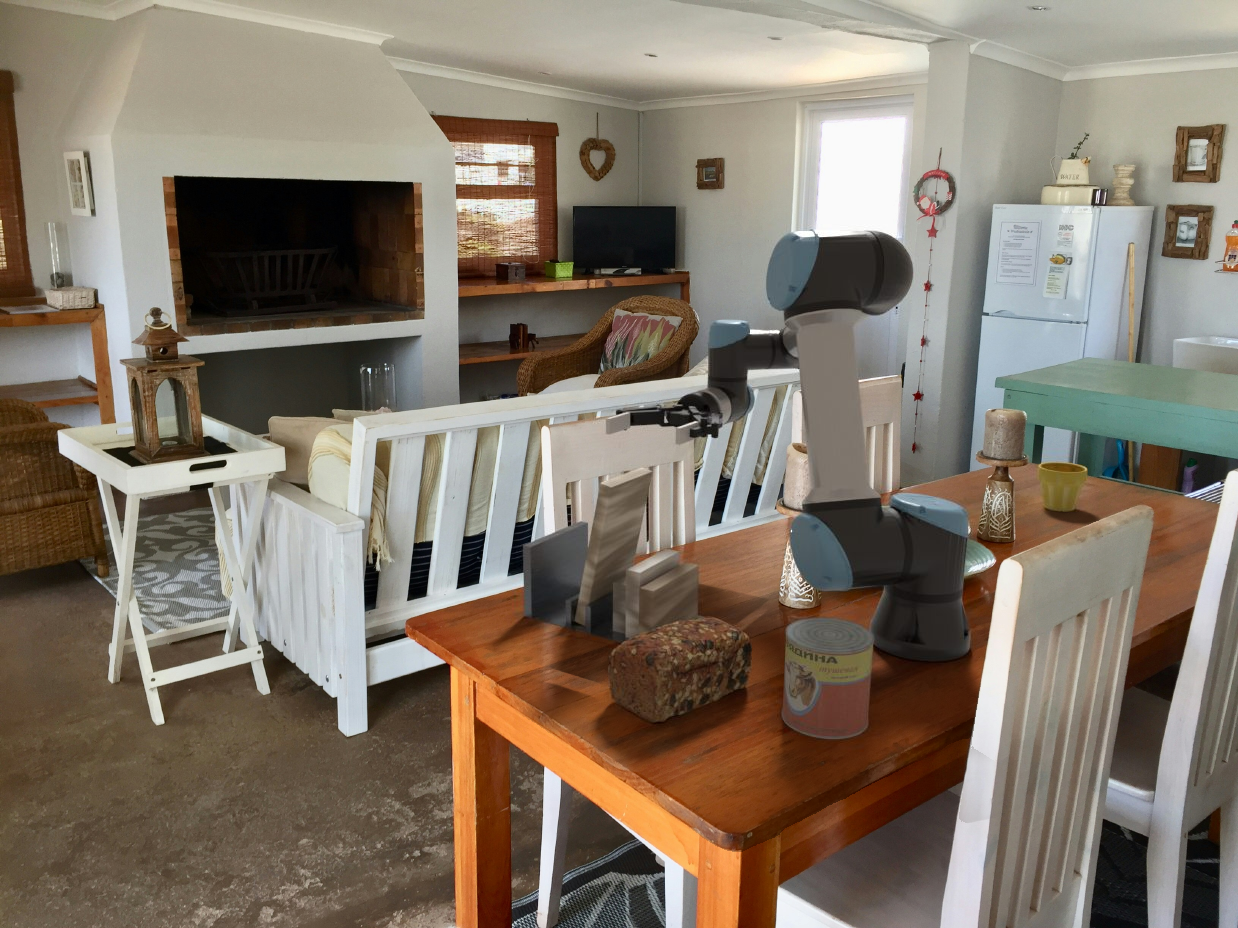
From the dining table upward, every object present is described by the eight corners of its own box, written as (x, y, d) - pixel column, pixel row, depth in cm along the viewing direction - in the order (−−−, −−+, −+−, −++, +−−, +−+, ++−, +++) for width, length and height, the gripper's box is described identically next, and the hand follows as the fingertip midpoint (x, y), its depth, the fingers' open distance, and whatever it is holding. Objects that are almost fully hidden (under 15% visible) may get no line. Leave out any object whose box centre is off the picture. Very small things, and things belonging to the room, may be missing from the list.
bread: (656, 730, 130) (657, 658, 128) (604, 700, 138) (604, 632, 136) (754, 688, 142) (757, 622, 140) (701, 663, 150) (702, 600, 148)
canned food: (764, 712, 135) (767, 629, 132) (823, 690, 141) (827, 610, 138) (826, 748, 126) (831, 659, 123) (886, 723, 132) (892, 638, 129)
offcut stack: (697, 617, 163) (699, 553, 160) (652, 647, 151) (653, 578, 149) (652, 606, 167) (653, 543, 165) (605, 634, 156) (605, 567, 153)
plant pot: (1026, 507, 232) (1030, 466, 230) (1046, 499, 239) (1050, 459, 236) (1071, 517, 224) (1075, 474, 222) (1090, 508, 231) (1095, 467, 229)
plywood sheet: (625, 602, 169) (652, 471, 161) (584, 626, 159) (611, 487, 151) (615, 598, 170) (642, 467, 162) (574, 621, 160) (600, 482, 152)
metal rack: (707, 625, 163) (709, 546, 160) (656, 660, 150) (657, 575, 147) (581, 594, 177) (580, 521, 173) (524, 624, 164) (522, 545, 160)
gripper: (764, 439, 179) (708, 463, 161) (644, 423, 192) (580, 443, 174) (765, 397, 177) (709, 417, 160) (644, 384, 190) (580, 401, 173)
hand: (641, 431), depth 167 cm, fingers open, 13 cm apart
